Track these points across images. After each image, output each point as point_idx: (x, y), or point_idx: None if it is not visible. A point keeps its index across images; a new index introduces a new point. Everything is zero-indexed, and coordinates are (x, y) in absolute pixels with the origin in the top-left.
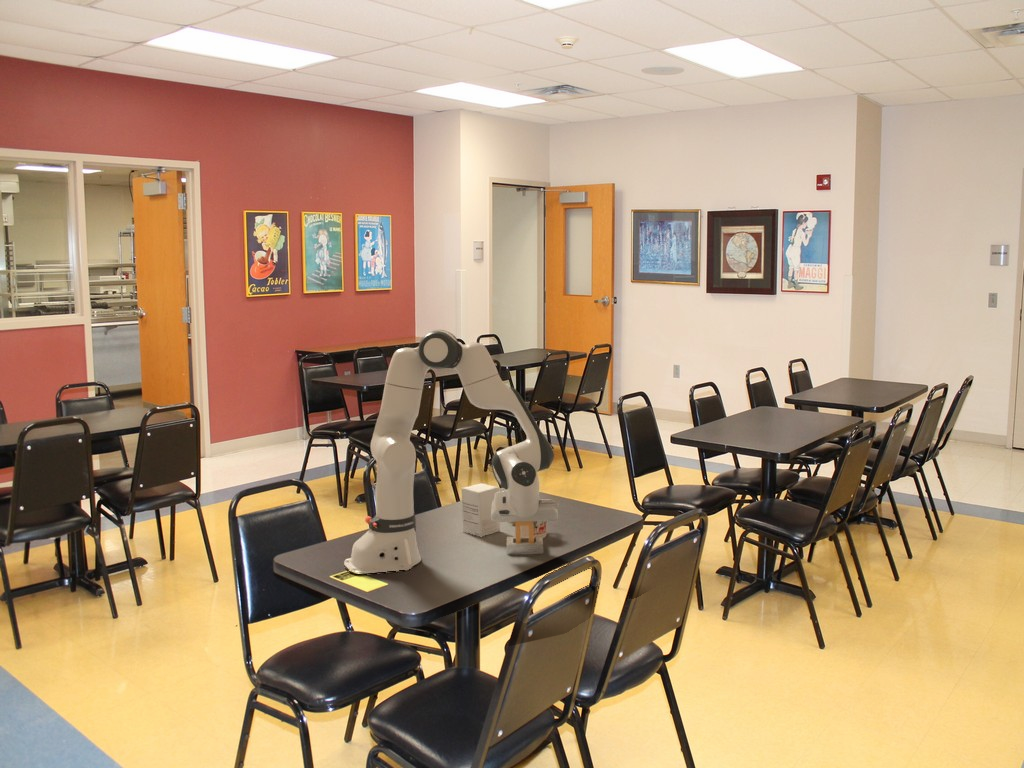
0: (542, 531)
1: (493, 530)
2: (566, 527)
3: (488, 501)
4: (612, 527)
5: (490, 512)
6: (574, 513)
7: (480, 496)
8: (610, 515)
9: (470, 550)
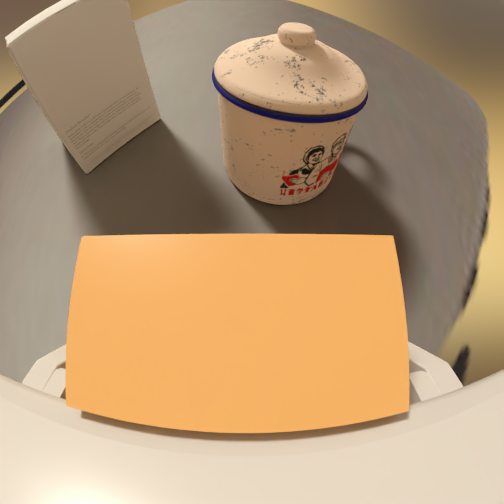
0: (328, 175)
1: (132, 130)
2: (376, 109)
3: (73, 51)
4: (472, 140)
5: (98, 84)
6: (363, 50)
7: (19, 56)
8: (435, 79)
9: (31, 321)
